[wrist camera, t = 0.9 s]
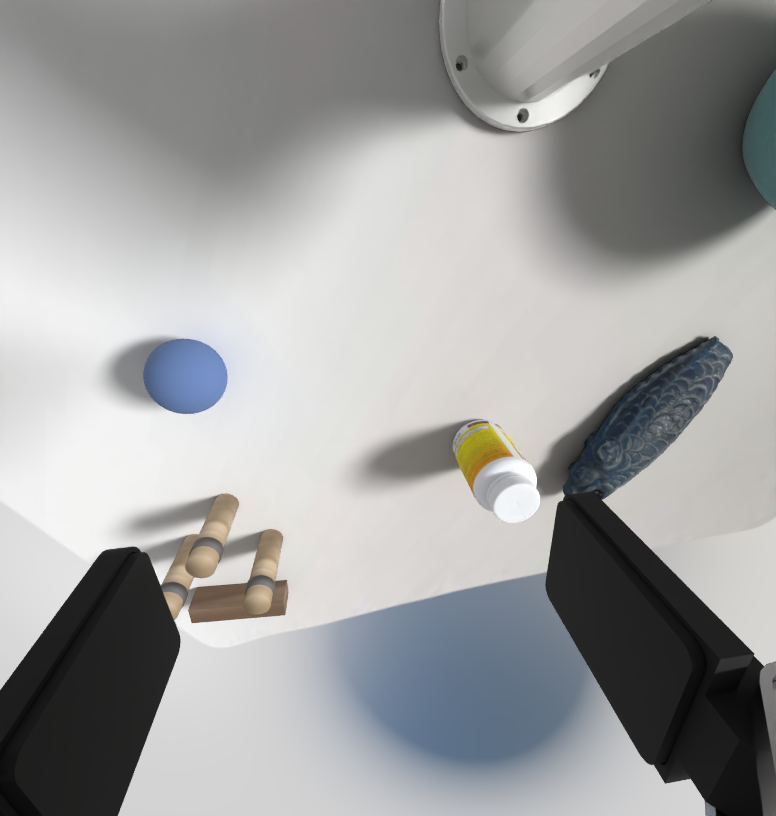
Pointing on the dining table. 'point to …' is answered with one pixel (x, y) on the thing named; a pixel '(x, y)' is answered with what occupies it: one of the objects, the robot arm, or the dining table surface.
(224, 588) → the back wall
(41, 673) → the robot arm
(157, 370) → the ball
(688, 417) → the fish model
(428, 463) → the dining table surface
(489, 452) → the supplement bottle
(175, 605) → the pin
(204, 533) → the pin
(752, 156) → the teal bowl
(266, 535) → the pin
